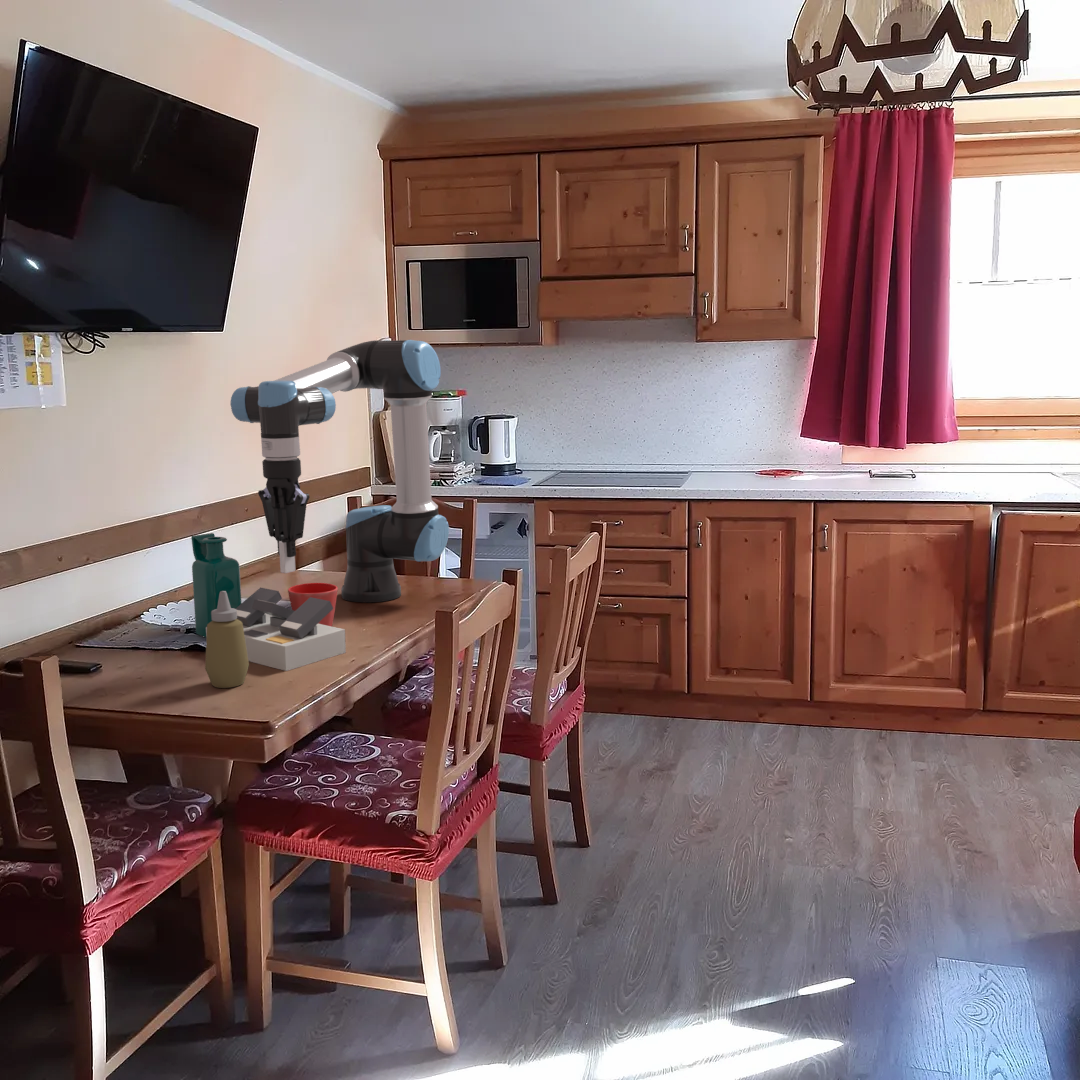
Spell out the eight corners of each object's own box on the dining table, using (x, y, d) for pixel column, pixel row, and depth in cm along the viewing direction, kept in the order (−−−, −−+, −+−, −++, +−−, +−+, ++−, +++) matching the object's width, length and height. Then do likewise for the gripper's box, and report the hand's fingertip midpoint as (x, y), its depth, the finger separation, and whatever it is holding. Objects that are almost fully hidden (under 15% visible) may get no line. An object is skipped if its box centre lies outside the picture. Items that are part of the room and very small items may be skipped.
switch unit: (267, 634, 237) (265, 604, 235) (345, 652, 222) (344, 621, 221) (207, 650, 224) (205, 619, 223) (286, 671, 209) (284, 637, 208)
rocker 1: (264, 594, 233) (260, 587, 232) (282, 598, 229) (278, 590, 228) (231, 622, 226) (227, 614, 225) (249, 626, 223) (245, 618, 222)
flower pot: (328, 636, 234) (326, 593, 233) (282, 634, 237) (280, 591, 235) (346, 624, 245) (344, 583, 243) (301, 622, 247) (300, 581, 245)
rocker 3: (313, 604, 223) (309, 596, 222) (333, 608, 220) (329, 600, 219) (281, 634, 217) (277, 626, 216) (301, 638, 214) (297, 630, 213)
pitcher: (246, 633, 237) (241, 536, 233) (212, 641, 231) (206, 541, 227) (223, 625, 244) (218, 531, 240) (189, 633, 238) (183, 536, 234)
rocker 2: (286, 620, 228) (289, 610, 229) (305, 624, 225) (308, 615, 225) (251, 608, 220) (254, 598, 221) (270, 612, 217) (273, 602, 217)
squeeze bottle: (211, 678, 205) (205, 587, 202) (253, 677, 206) (249, 586, 202) (201, 691, 197) (195, 597, 194) (245, 690, 198) (240, 596, 194)
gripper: (245, 458, 215) (252, 571, 220) (289, 462, 208) (295, 579, 212) (273, 454, 221) (280, 564, 226) (317, 458, 214) (323, 572, 218)
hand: (288, 571), depth 219 cm, fingers closed
